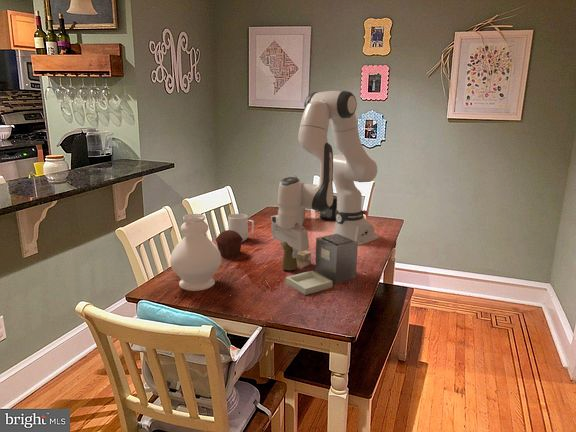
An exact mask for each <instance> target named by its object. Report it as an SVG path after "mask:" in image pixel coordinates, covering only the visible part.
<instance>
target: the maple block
mask: <svg viewBox="0 0 576 432" xmlns="http://www.w3.org/2000/svg"><path fill="white" fill-rule="evenodd" d="M296 260H297V267H301V268H305V267H309V265H310V266H311V264H312V252H311V251H308V250H305V251H298V253H297V258H296Z"/></svg>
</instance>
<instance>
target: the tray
mask: <svg viewBox="0 0 576 432" xmlns="http://www.w3.org/2000/svg"><path fill="white" fill-rule="evenodd" d="M333 283H334V282H333V281H331V280H329V279H328V278H326V277H324V276H322V275H320V274H318V273H316V272H315V271H314V270H310V271H309V270H308V271H305V272H300V273H297V274H293V275H289V276H286V277H285V284H286V285H288V286H289V287H291V288H292V289H295V290H297V291H298V292H300V293H301V294H303V295H304V296H306V295H310V294H313V293H317V292H320V291H324V290H328V289H330V288H333Z"/></svg>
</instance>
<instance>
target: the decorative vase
mask: <svg viewBox="0 0 576 432" xmlns="http://www.w3.org/2000/svg"><path fill="white" fill-rule="evenodd" d="M182 217H183V218H182V220H183V221H184V222H183V223H182V224H181V226H180V231H181V232H182V234H183V235H185V236H184V237H183V238H182V239H181V240H180V241H179V242H178V243H177V244H176V246H175V247H174V248H173V250H172V252H171V254H170V259H169V260H170V261H169V262H170V263H169V264H170V267H171V269H172V271H173V272H174V273H175V274H176V275H177V276H178V277H179V278H180V279H181V280H180V281H179V282H178V284H179V285H178V286H179V287H180V289H182V290H185V291H190V292H196V291H197V292H198V291H204V290H208V289H210V288H212V287H213V286H214V285H215V284H216V281H215V279H214V278H213V276H214V275H215V274H216V272H217V271H219V268H220V267H221V264H222V256H221V254H220V251H219V249H218V246H217V244H215V243H214V242H213V241H212V240H211V239H210V238H209V237H208V236H206V235H205V234H206V233H208V231H209V225H208V223H207V222H206V221H204V220H206V215H204V214H202V213H188V214H186V215H183V216H182Z"/></svg>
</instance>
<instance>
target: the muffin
mask: <svg viewBox="0 0 576 432" xmlns="http://www.w3.org/2000/svg"><path fill="white" fill-rule="evenodd" d="M242 240H243V238H242V237H241V236H240V235H239V234H238V233H237V232H235V231H233V230H228V229H226V230H223V231H222V232H220V233H219V234H218V236H217V237H216V238H215V242H216V247H217V248H218V249H219V251H220V254H221V258H227V259H228V258H229V259H231V258H236V257H238V256H240V255H241V247H242V242H243V241H242Z"/></svg>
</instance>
